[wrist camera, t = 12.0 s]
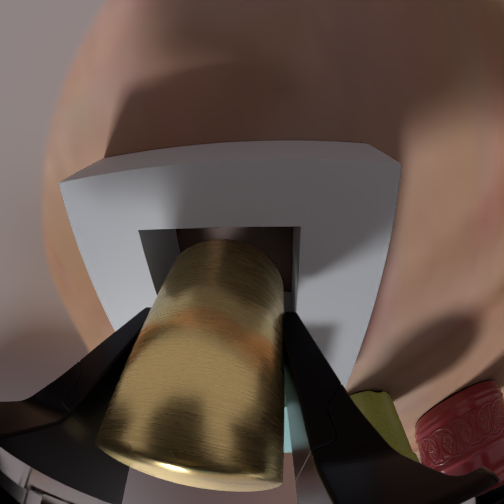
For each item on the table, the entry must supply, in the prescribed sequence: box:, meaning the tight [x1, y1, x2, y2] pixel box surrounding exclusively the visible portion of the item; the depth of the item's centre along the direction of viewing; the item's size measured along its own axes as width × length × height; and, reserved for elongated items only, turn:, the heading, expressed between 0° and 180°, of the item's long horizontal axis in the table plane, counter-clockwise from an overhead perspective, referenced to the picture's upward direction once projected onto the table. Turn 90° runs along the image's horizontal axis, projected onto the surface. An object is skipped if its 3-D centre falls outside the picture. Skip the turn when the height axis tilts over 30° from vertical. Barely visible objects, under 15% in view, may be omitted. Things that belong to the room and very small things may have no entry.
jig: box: [59, 140, 402, 388], centre depth 14 cm, size 12×17×4 cm
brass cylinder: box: [95, 239, 285, 491], centre depth 8 cm, size 4×4×7 cm
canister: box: [415, 380, 504, 492], centre depth 16 cm, size 13×13×18 cm
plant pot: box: [350, 391, 420, 463], centre depth 18 cm, size 9×9×9 cm
